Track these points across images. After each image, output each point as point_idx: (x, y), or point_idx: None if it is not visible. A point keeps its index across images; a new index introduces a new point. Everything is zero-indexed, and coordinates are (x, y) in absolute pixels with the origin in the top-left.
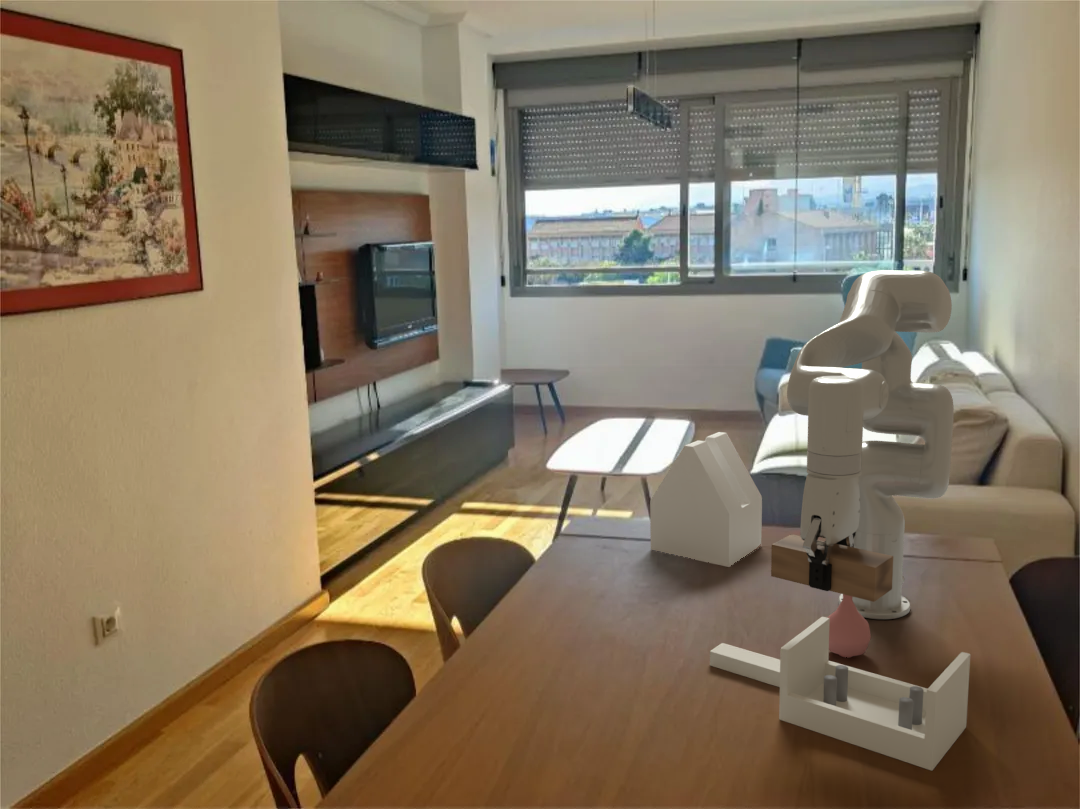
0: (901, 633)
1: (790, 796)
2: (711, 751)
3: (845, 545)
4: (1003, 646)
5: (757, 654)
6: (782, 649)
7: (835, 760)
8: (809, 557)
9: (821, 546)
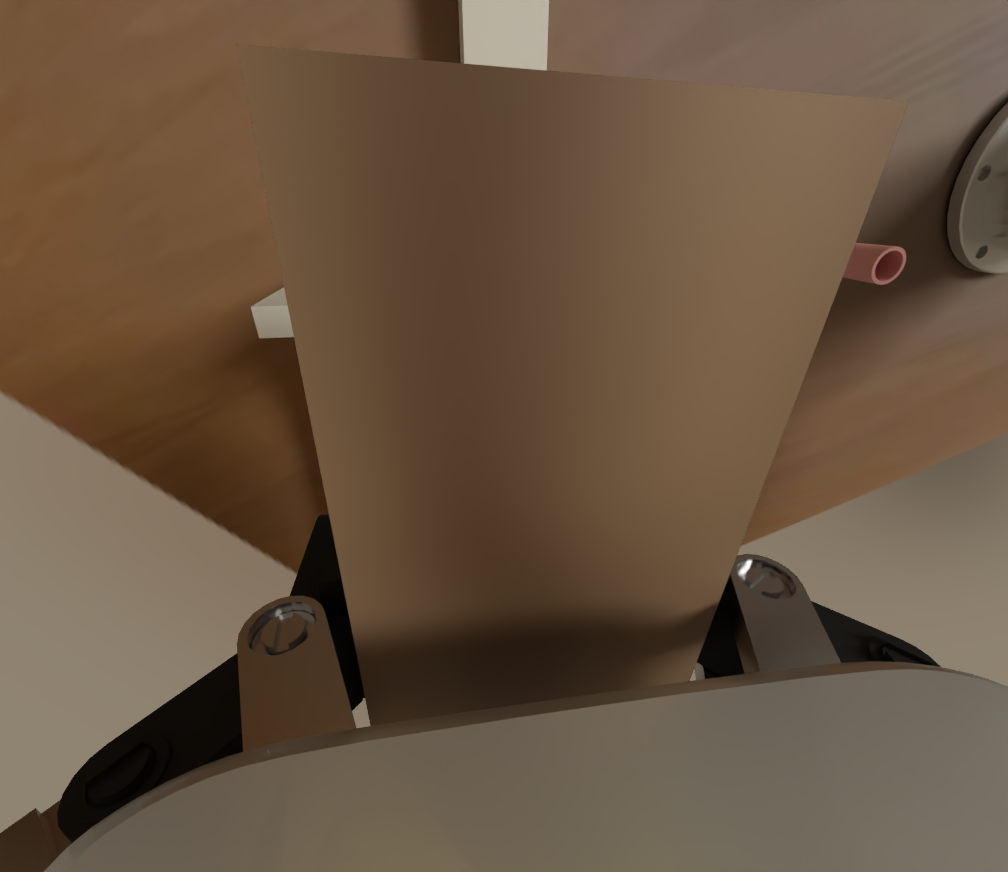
0: (875, 302)
1: (87, 433)
2: (36, 203)
3: (708, 661)
4: (855, 468)
5: (537, 39)
6: (254, 314)
7: (272, 434)
8: (173, 704)
9: (587, 588)
